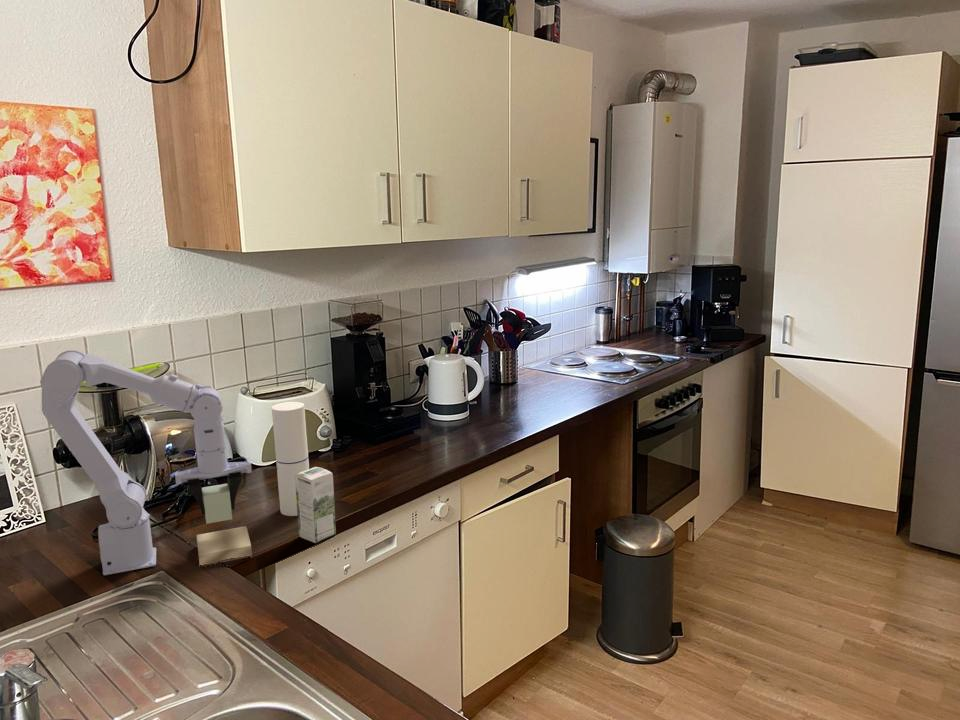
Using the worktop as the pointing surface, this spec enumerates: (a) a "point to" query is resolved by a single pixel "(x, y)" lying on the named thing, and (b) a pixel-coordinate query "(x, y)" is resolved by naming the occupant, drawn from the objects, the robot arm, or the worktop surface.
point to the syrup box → (315, 504)
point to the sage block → (217, 503)
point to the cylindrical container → (289, 451)
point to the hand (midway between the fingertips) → (217, 510)
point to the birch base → (223, 545)
